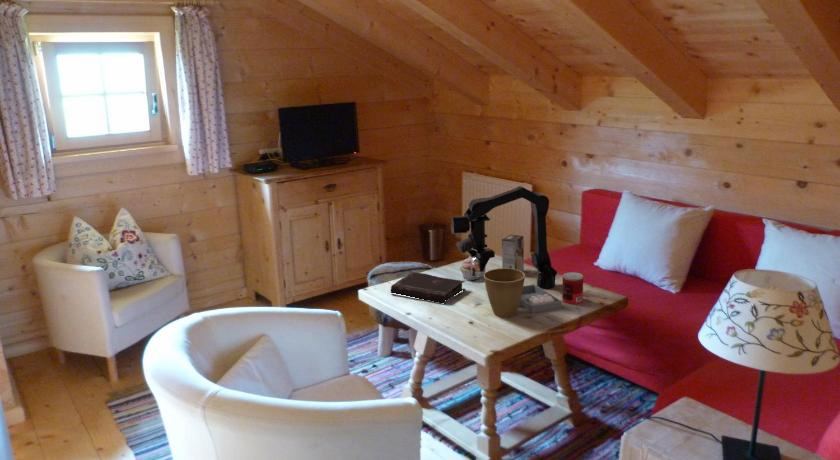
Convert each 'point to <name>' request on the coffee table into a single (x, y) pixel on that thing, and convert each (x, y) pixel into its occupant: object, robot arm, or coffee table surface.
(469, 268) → the cupcake
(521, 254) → the coffee box
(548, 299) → the egg carton
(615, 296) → the coffee table surface
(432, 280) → the diary
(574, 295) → the canned food
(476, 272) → the steel tin
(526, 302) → the tote
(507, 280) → the plant pot
